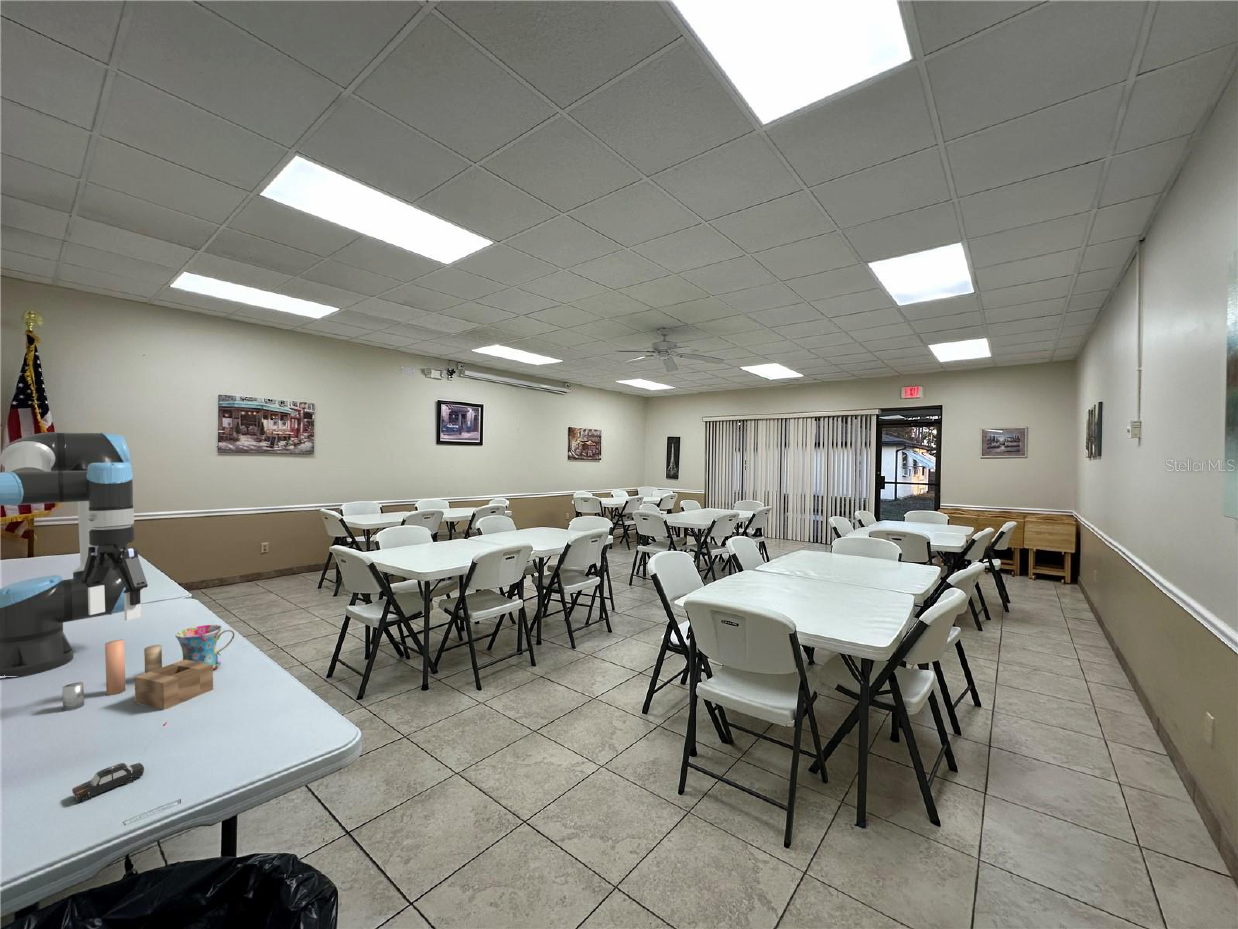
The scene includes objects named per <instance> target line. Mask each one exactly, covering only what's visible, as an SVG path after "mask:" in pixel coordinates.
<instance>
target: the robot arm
mask: <svg viewBox="0 0 1238 929" xmlns="http://www.w3.org/2000/svg"><path fill="white" fill-rule="evenodd" d="M0 464H1V465H2V466H3V468H4V471H3V472H0V506H12V507H15V506H21V505H24V506H25V505H41V504H42V505H43V504H55V503H58V504H59V503H77V514H78V515H77V517H78V520H77V521H78V538H79V539H78V540H79V542H78V543H79V560H80V561H79V562H80V563H79V564H80V565H79V566H78V567H76V569H74V571H72V578H70V579H69V578H68V579H63V577H62V576H61V574H60V575H59V574H55V575H54V574H53V575H47V576H46V575H45V576H40V577H35V578H29V579H25V580H20V581H18V582H13V583H11V584H8V585H5V586H3V587H1V588H0V676H4V675H5V676H20V677H25V676H30V675H34V674H38V673H41V672H42V673H43V672H46V671H49V670H53V669H55V668H58V667H61V666H63V665H65V664H67V663H69V662H72V660H74V658H75V657H74V649H73V647H72V645H71V643H70V642H69V640H68V638H67V636H66V635H65V632H64V623H68V622H74V621H80V620H86V619H92V618H96V617H103V616H111V615H113V614H119V613H122V612H124V621H130V620H134V619H138V618H142V605H141V604H142V602H141V591H142V590H143V589H146V588H148V586H149V585H148V582H147V579H146V576H145V575H146V574H145V573H144V570H143V567H142V564H141V561H140V559H139V551H138V548H137V547H133V548H128V544H129V543H130V544H131V543H133V542H134V540H135V528H134V526H133V525H135V515H134V514H135V511H134V510H135V509H134V504H133V502H134V500H133V499H134V498H133V497H134V494H133V493H134V489H133V488H134V483H133V479H134V474H133V467H132V461H131V454H130V450H129V446H128V444H127V441H126V439H125V437H124V436H122V435H121V434H117V433H105V432H57V431H54V432H53V431H49V432H40V433H36V434H35V433H34V434H30V435H26V436H24V437H21V438H17V439H16V440H13V441H11V442H10V443H8V444H7V445H6V446H4V448H3V449H2V451H1V453H0ZM24 675H25V676H24Z"/></svg>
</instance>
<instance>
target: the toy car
mask: <svg viewBox="0 0 1238 929" xmlns="http://www.w3.org/2000/svg"><path fill="white" fill-rule="evenodd" d="M167 723H168V721H166V722H165V723H163V724H162V727H165V726H166V724H167ZM160 731H161V729H159V731H158V732H160ZM156 735H158V733H156V734H155V736H156ZM153 739H154V738H152V740H150V741H149V743H151V742H152V741H153ZM147 747H148V745H146V746H145V747H144V749H143V750H142V752H144V751H145V748H147ZM141 757H142V755H140V757H139V759H138V763H133V764H131V765H130V764H126V763H124V762H121V763H117V764H114V765H112V766H109V767H106V768H103V769H102V770H99V771H97V772H96V773H94V775H93V777H91V779H89V780H88V781H86V782H84V783H81V784H79V785H77V786H74V787H73V788H72V789H71V792H72V795H73V800H74V801H75V802H76V803H86V802H87V801H91V800H92V799H93V797H95V796H97V795H99V794H102V793H104V792H106V791H109V790H111V789H114V788H116V787H118V786H121V785H123V784H124V785H125V786H127V785H129V783H130V784H133V783H134V782H135V780H136V779H139V778H141V777H143V776H144V772H145V767H144V765H143V764H142V763H141V762H140V759H141Z"/></svg>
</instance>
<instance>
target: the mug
mask: <svg viewBox="0 0 1238 929" xmlns="http://www.w3.org/2000/svg"><path fill="white" fill-rule="evenodd" d="M222 628H223V627H222V625H219V624H207V625H206V624H205V625H199V626H194V627H189V628H186V629H183V630H180V631H178V632H177V633H176V634H175V638H176V639H177V641H178V642H179V645H180V647H181V651H182V660H190V661H195V662H200V663H206V664H211V665H213V670H215V669H217V668H219V667H220V666H221V664H222V661H221V660H220V658H219V657H218V656H222V654H221V653H220V652H221V651H224V650H225V649H226V648H227V647H228V646H229V645H230V644H231V643H232V642H233V640H234V638H235V637H236V636H235V634H236V633H235V631H234V630H232V629H226V630H223V631H222ZM226 632H230V633H232V636H231V639H230V640H229V642H227V643H226V644H225V645H224V646H223V647H222V648H220V649H219V650H217V643H218V641H219V640H220V639H221V638H220V637H221V636H222V634H225V633H226Z"/></svg>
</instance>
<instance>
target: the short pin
mask: <svg viewBox="0 0 1238 929" xmlns="http://www.w3.org/2000/svg"><path fill="white" fill-rule="evenodd" d="M84 687H85V686H84V682H83V681H77V682H73V683H70V684H66V685H64V686H63V687H62V689H61V690H62V710H63V712H68V711H69V712H70V711H74V710H78V709H80V708H82V707H84V706H85V695H84V694H85V691H84V690H85V689H84Z"/></svg>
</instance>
